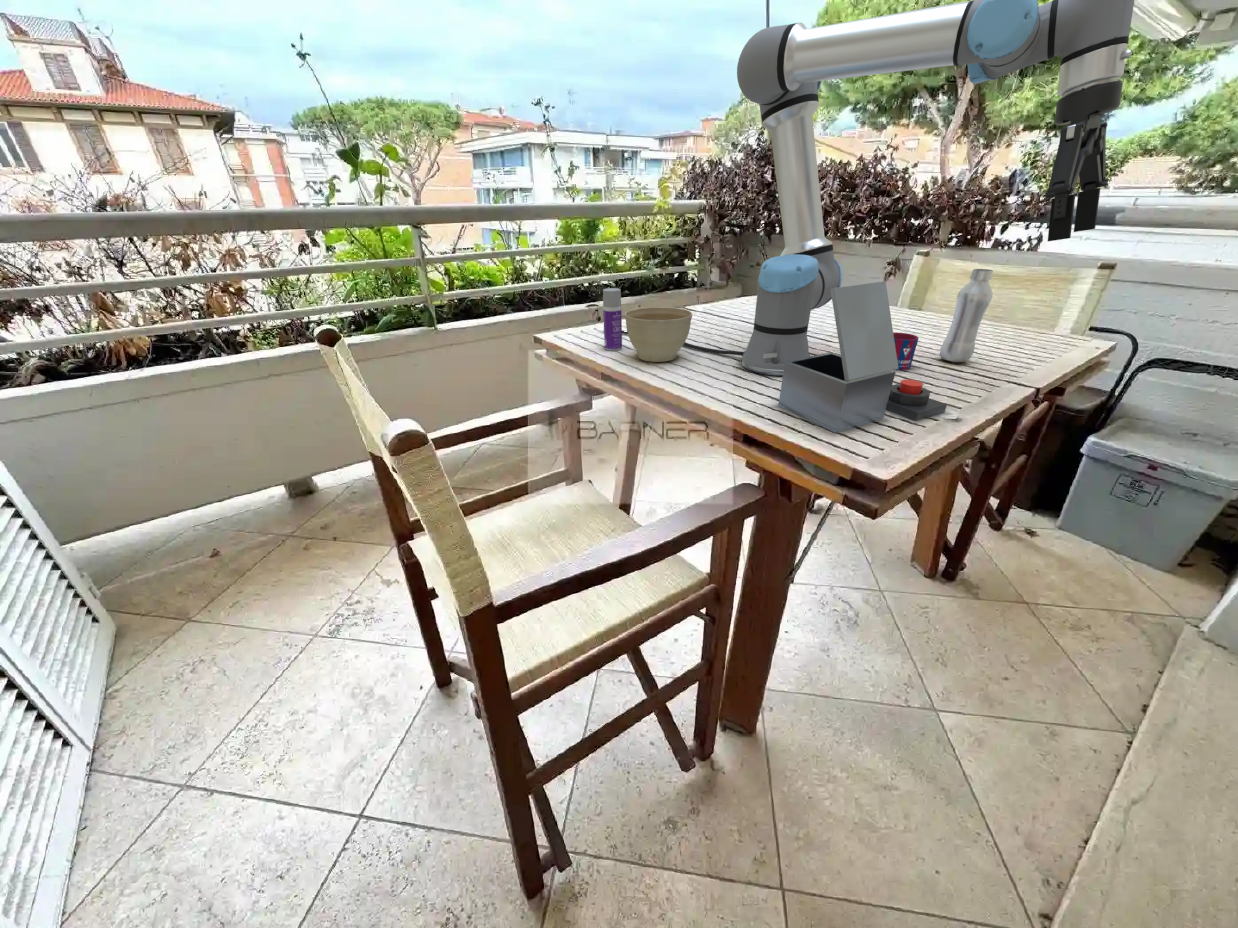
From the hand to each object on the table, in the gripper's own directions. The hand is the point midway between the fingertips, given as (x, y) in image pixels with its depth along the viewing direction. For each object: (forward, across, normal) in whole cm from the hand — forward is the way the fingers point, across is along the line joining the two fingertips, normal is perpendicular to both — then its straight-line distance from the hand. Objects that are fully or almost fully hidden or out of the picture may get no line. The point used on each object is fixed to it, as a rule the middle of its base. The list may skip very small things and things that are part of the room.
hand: (1072, 235), depth 83 cm
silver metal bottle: (+25, +10, +21) cm, 34 cm away
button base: (+24, -27, +15) cm, 39 cm away
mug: (+22, -3, +29) cm, 37 cm away
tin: (+22, -40, +22) cm, 50 cm away
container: (+8, -43, +81) cm, 92 cm away
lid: (+7, -39, +15) cm, 43 cm away
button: (+21, -27, +14) cm, 37 cm away
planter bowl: (+11, -40, +68) cm, 79 cm away
